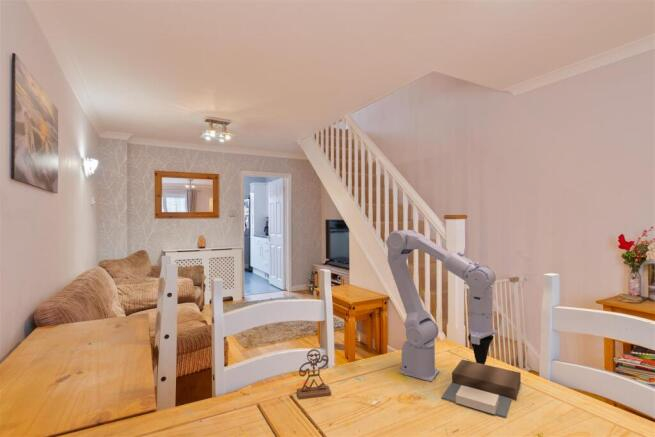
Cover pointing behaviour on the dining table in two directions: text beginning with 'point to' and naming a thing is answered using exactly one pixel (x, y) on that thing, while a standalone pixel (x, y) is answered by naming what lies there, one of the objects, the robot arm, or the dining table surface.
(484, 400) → the tile
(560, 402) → the dining table surface
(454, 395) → the mat
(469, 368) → the block
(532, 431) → the dining table surface
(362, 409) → the dining table surface
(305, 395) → the gingerbread man figurine
